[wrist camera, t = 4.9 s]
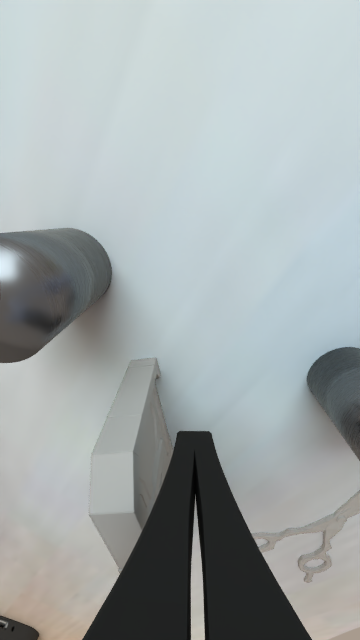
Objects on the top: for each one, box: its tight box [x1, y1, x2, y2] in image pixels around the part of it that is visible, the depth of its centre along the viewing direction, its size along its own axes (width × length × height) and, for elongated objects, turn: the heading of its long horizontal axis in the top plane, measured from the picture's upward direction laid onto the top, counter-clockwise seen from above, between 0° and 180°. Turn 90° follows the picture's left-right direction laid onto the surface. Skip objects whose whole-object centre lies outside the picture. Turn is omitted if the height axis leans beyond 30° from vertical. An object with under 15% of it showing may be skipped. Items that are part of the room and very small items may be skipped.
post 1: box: [0, 228, 112, 363], centre depth 10 cm, size 4×4×6 cm
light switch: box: [89, 357, 173, 573], centre depth 13 cm, size 2×12×8 cm, turn 10°
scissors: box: [252, 490, 360, 583], centre depth 21 cm, size 11×1×20 cm
